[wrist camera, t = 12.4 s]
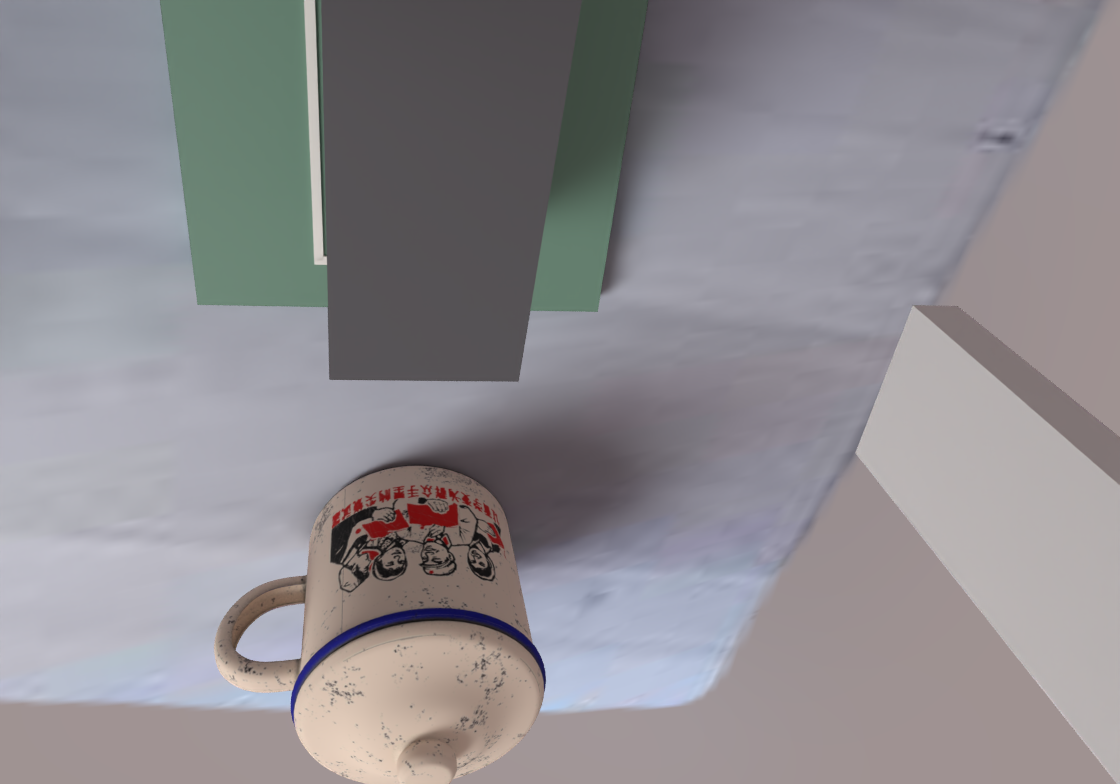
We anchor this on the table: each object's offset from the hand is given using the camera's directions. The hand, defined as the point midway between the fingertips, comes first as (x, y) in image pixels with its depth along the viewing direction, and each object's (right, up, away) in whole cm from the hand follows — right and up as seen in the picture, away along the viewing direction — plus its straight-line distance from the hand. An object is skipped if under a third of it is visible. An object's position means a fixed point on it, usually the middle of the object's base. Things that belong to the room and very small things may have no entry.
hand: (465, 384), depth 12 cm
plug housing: (-2, +11, +12) cm, 17 cm away
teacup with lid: (-7, -7, +26) cm, 27 cm away
